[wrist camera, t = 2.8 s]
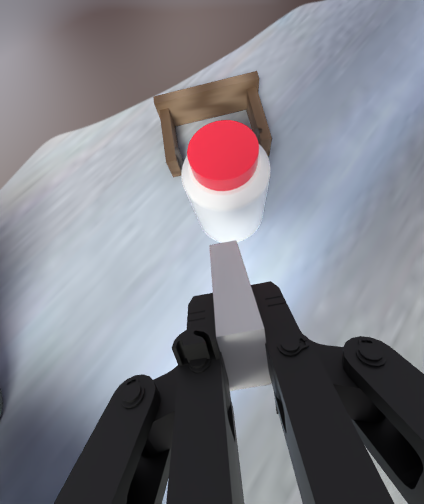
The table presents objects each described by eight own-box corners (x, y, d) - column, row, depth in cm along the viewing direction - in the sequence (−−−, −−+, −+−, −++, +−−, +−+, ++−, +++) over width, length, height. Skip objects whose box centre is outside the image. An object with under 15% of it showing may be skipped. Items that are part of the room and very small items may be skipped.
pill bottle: (229, 172, 30) (222, 92, 20) (277, 210, 28) (297, 143, 18) (185, 214, 29) (152, 153, 19) (230, 257, 27) (222, 214, 17)
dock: (255, 100, 33) (256, 71, 29) (271, 155, 30) (275, 130, 26) (163, 122, 34) (153, 96, 30) (171, 177, 31) (160, 157, 27)
